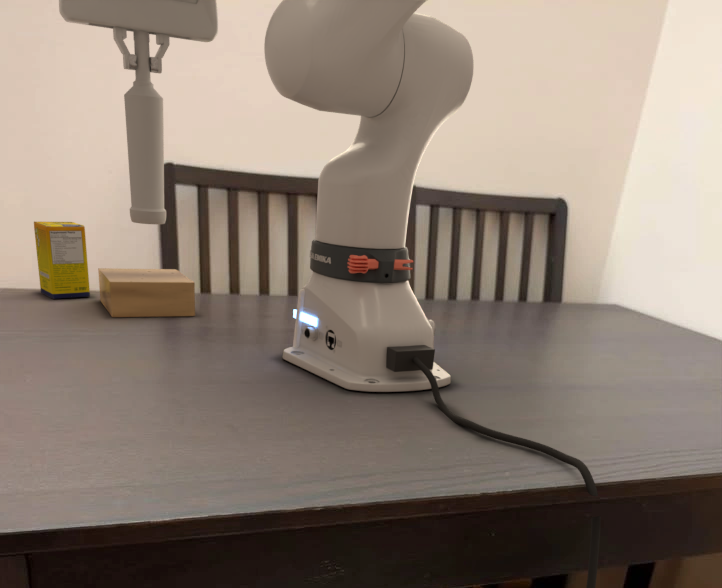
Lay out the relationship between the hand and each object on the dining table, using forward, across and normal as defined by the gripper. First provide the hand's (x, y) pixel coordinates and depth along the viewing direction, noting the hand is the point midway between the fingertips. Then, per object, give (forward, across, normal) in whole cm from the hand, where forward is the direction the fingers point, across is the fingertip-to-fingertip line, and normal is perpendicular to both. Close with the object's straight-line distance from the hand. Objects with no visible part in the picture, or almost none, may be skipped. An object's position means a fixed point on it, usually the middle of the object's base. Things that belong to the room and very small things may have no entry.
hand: (143, 71), depth 99 cm
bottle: (+20, 0, 0) cm, 20 cm away
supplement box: (+32, -12, +11) cm, 36 cm away
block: (+32, -1, 0) cm, 32 cm away
